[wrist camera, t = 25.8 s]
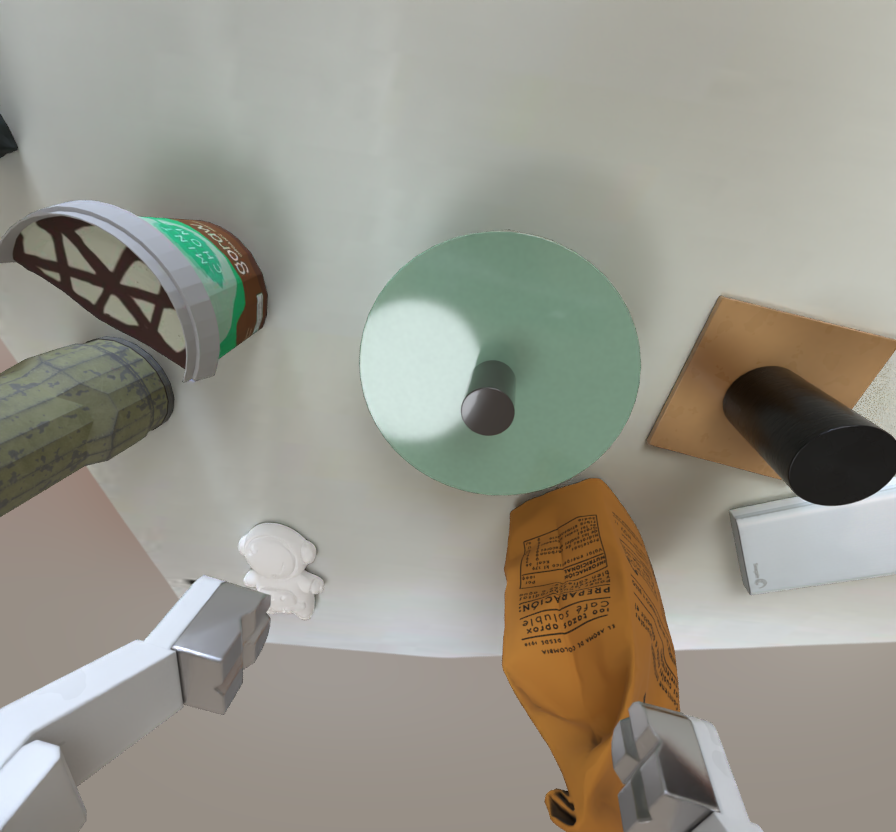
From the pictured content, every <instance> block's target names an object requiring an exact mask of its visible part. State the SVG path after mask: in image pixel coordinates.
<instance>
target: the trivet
mask: <svg viewBox="0 0 896 832" xmlns="http://www.w3.org/2000/svg"><path fill="white" fill-rule="evenodd" d="M895 350H896V340H895V339H892V338H888V337H884V336H880V335H876V334H872V333H868V332H864V331H860V330H856V329H852V328H848V327H844V326H840V325H836V324H832V323H828V322H824V321H820V320H816V319H812V318H808V317H804V316H800V315H796V314H792V313H788V312H784V311H780V310H776V309H772V308H768V307H764V306H760V305H756V304H752V303H748V302H744V301H740V300H736V299H732V298H728V297H724V296H719V298H718V300H717V302H716V304H715V306H714V308H713V310H712V312H711V314H710V316H709V318H708V320H707V322H706V324H705V326H704V328H703V330H702V332H701V334H700V336H699V338H698V340H697V342H696V344H695V346H694V348H693V350H692V352H691V354H690V355H689V357H688V359H687V361H686V363H685V365H684V367H683V369H682V371H681V373H680V375H679V377H678V379H677V381H676V383H675V385H674V387H673V389H672V391H671V393H670V395H669V397H668V399H667V401H666V403H665V405H664V407H663V409H662V411H661V413H660V415H659V417H658V419H657V421H656V423H655V425H654V427H653V429H652V431H651V433H650V435H649V437H648V439H647V443H648V444H649V445H653V446H656V447H660V448H664V449H668V450H671V451H675V452H679V453H683V454H686V455H690V456H694V457H698V458H702V459H705V460H709V461H713V462H717V463H720V464H724V465H728V466H732V467H735V468H739V469H743V470H747V471H750V472H754V473H758V474H762V475H765V476H769V477H773V478H777V479H780V480H782V479H781V478H780V476H779V475H778V474H777V473H776V472H775V471H774V470H773V469H772V468H771V467H770V466H769V465H768V463H767V462H766V461H765V460H764V459H763V458H762V457H761V456H760V455H759V454H758V453H757V452H756V450H755V449H754V448H753V447H752V446H751V445H750V444H749V443H748V442H747V441H746V440H745V439H744V437H743V436H742V435H741V434H740V433H739V432H738V431H737V430H736V429H735V428H734V427H733V425H732V424H731V423H730V422H729V421H728V420H727V418H726V417H725V415H724V412H723V400H724V396H725V394H726V392H727V390H728V388H729V387H730V386H731V384H732V383H733V382H734V381H735V380H736V379H737V378H739V377H740V376H741V375H743V374H745V373H746V372H748V371H751V370H753V369H756V368H760V367H765V366H778V367H783V368H786V369H789V370H791V371H792V372H794V373H796V374H797V375H799V376H800V377H802V378H803V379H805V380H807V381H808V382H810V383H811V384H813V385H814V386H816V387H817V388H819V389H821V390H822V391H824V392H825V393H827V394H828V395H830V396H832V397H833V398H835V399H836V400H838V401H839V402H841V403H842V404H844V405H846V406H847V407H849V408H850V409H852V408H853V407H854V406H855V404H856V403H857V401H858V400H859V399H860V397H861V396H862V395H863V393H864V392H865V391H866V389H867V388H868V387H869V385H870V384H871V383H872V381H873V380H874V378H875V377H876V376H877V374H878V373H879V372H880V370H881V369H882V368H883V366H884V365H885V364H886V362H887V361H888V359H889V358H890V357H891V355H892V354H893V353H894V351H895Z"/></svg>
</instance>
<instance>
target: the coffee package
mask: <svg viewBox="0 0 896 832" xmlns="http://www.w3.org/2000/svg"><path fill="white" fill-rule="evenodd" d="M504 572H505V576H506V580H507V586H506V590H505V614H504V616H505V629H504V636H503V654H502V667H503V671H504V673H505V675H506V677H507V679H508V681H509V683H510V685H511V687H512V689H513V691H514V693H515V695H516V696H517V698H518V700H519V701H520V703H521V705H522V706H523V708H524V709H525V710H526V712H527V714H528V716H529V717H530V719H531V720H532V722H533V723H534V725H535V726H536V728H537V729H538V731H539V732H540V734H541V736H542V737H543V739H544V740H545V741H546V743H547V745H548V746H549V748H550V750H551V752H552V754H553V756H554V758H555V760H556V762H557V764H558V766H559V768H560V770H561V772H562V774H563V777H564V780H565V783H566V786H567V789H568V791H564V790H561V789H554V790H551V791H549V792H548V793H547V794H546V797H545V804H546V806H547V809H548V812H549V815H550V819H551V820H552V821H553V823H555V824H556V825H557V826H558V827H560V828H561V829H563V830H564V831H566V832H623V826H622V820H621V813H620V807H619V801H618V793H619V791H620V789H621V787H622V785H623V783H622V782H621V780H620V779H619V777H618V775H617V774H616V772H615V771H614V769H613V762H612V755H611V742H612V737H613V732H614V728H615V727H616V725H617V724H618V722H619V721H620V720H622V719H625V718H628V717H630V716H629V710H628V708H629V707H630V706H631V705H632V703H633V702H637V701H640V702H644V703H648V704H651V705H655V706H659V707H663V708H666V709H670V710H674V711H677V712H680V705H679V688H678V677H677V668H676V659H675V651H674V647H673V643H672V639H671V636H670V632H669V629H668V625H667V622H666V617H665V612H664V608H663V604H662V600H661V596H660V592H659V589H658V585H657V582H656V578H655V575H654V571H653V568H652V565H651V562H650V560H649V557H648V554H647V551H646V549H645V546H644V543H643V540H642V538H641V535H640V533H639V531H638V529H637V527H636V525H635V524H634V522H633V521H632V519H631V517H630V516H629V514H628V513H627V511H626V510H625V508H624V507H623V505H622V504H621V503H620V502H619V500H618V499H617V497H616V496H615V495H614V493H613V492H612V491H611V489H610V488H609V487H608V486H607V485H606V484H605V483H604V482H603V481H602V480H601V479H597V478H590V479H586V480H583V481H581V482H578V483H576V484H572V485H568V486H565V487H562V488H559V489H556V490H554V491H551V492H549V493H546V494H544V495H542V496H540V497H536V498H533V499H531V500H529V501H526V502H525V503H523V504H522V505H521V506H519V507H517V508H516V509H514V510H512V511H511V513H510V528H509V537H508V548H507V554H506V561H505V567H504Z"/></svg>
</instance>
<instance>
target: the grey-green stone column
mask: <svg viewBox="0 0 896 832" xmlns="http://www.w3.org/2000/svg"><path fill="white" fill-rule="evenodd" d="M173 402H174V396H173V392H172V388H171V384H170V382H169V380H168V378H167V377H166V375H165V373H164V371H163V369H162V368H161V367H160V366H159V364H158V363H157V362H156V361H155V360H154V359H153V358H152V357H151V355H149V354H148V353H147V352H145V351H144V350H143V349H141V348H140V347H138V346H137V345H136V344H133V343H131V342H129V341H126V340H124V339H121V338H115V337H107V336H105V337H102V338H98V339H94V340H91V341H88V342H86V343H85V344H73V345H69V346H66V347H62V348H59V349H56V350H53V351H49V352H46V353H43V354H40V355H37V356H34V357H31V358H27V359H25V360H23V361H21V362H19V363H18V364H16V365H14V366H13V367H11V368H9V369H7V370H5V371H4V372H2V373H0V517H1V516H3V515H4V514H6V513H8V512H9V511H11V510H13V509H14V508H16V507H18V506H19V505H21V504H23V503H24V502H26V501H27V500H29V499H31V498H32V497H34V496H36V495H38V494H39V493H41V492H42V491H44V490H46V489H48V488H49V487H51V486H52V485H54V484H56V483H58V482H59V481H61V480H62V479H64V478H66V477H67V476H69V475H71V474H72V473H74V472H76V471H77V470H79V469H81V468H82V467H84V466H87V465H91V464H95V463H99V462H104V461H108V460H110V459H111V458H113V457H114V456H116V455H118V454H119V453H121V452H122V451H124V450H126V449H127V448H129V447H130V446H132V445H134V444H135V443H137V442H138V441H140V440H141V439H143V438H144V437H145V436H147V434H148V432H149V431H151V430H154V429H156V428H157V427H159V426H160V425H162V424H163V423H165V422H166V421H167V420H168V419H169V417H170V415H171V413H172V411H173Z"/></svg>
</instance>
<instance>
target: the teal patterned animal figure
mask: <svg viewBox="0 0 896 832" xmlns="http://www.w3.org/2000/svg"><path fill="white" fill-rule="evenodd" d="M17 148H18V147H17V145H16V143H15V140H14V138H13V136H12V134H11V132H10V130H9V128H8V126H7V124H6V123H5V121H4V120H3V118H2V116H1V115H0V158H1V157H3V156H4V155H5V154H7V153H11V152H13V151H16V150H17Z"/></svg>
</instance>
